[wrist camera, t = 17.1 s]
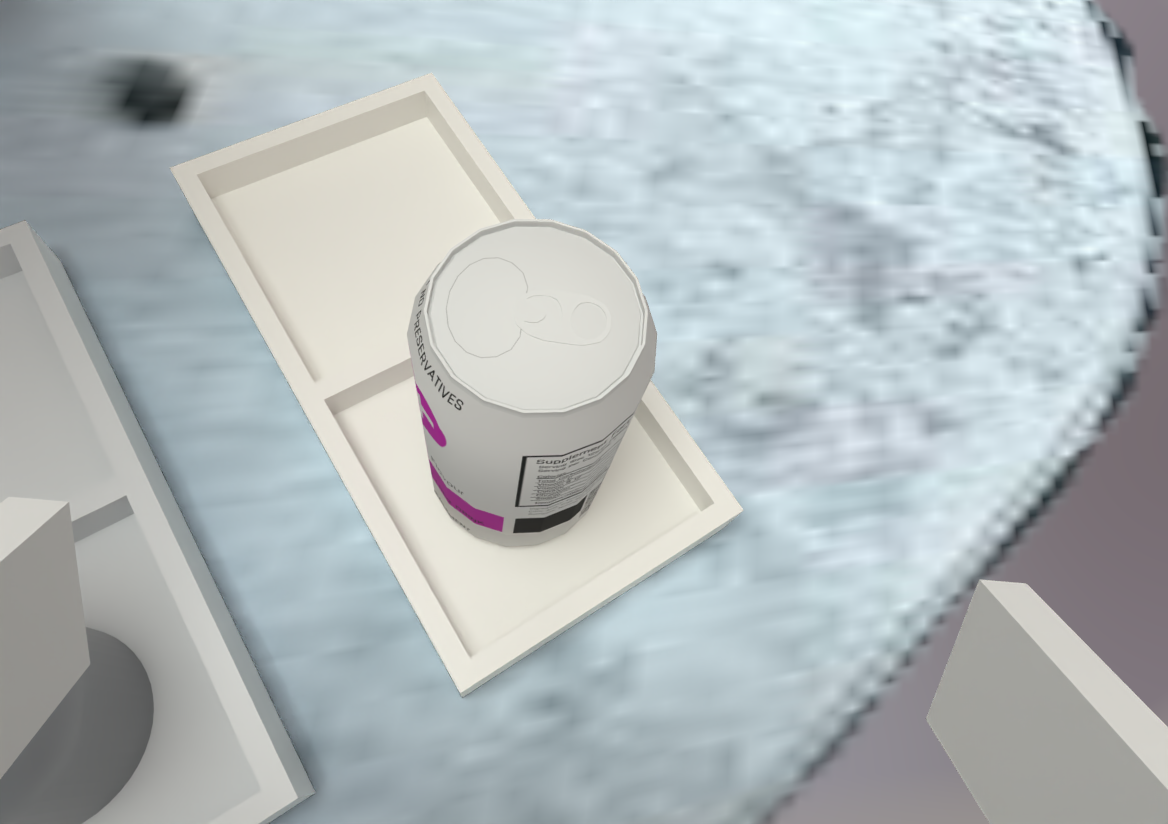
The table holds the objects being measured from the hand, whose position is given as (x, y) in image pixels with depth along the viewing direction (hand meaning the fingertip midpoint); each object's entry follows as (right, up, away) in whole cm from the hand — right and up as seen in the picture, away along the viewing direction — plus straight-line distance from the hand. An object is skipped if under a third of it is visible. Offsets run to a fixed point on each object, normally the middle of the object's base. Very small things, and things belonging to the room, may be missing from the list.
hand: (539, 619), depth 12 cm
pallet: (-7, +6, +30) cm, 31 cm away
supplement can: (-3, 0, +27) cm, 27 cm away
